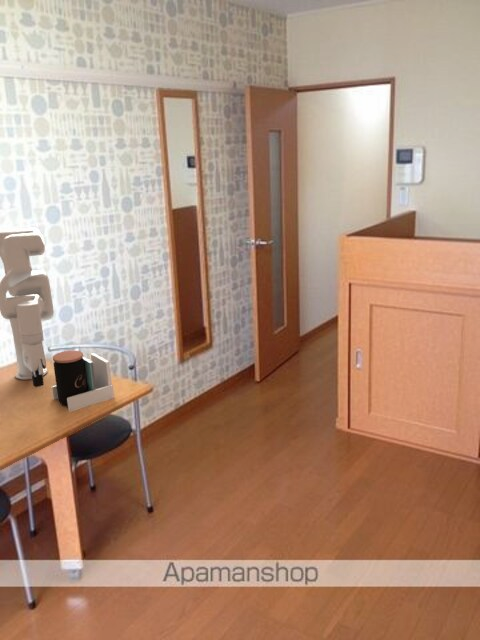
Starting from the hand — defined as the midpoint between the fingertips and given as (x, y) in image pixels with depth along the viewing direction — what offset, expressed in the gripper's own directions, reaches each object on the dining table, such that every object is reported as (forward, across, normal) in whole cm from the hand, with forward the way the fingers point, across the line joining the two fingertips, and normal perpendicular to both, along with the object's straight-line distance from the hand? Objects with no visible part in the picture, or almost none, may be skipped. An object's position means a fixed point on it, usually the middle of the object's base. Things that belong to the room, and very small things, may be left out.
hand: (38, 385), depth 211 cm
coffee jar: (+10, +2, +11) cm, 15 cm away
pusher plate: (+10, +2, +17) cm, 19 cm away
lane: (+10, +2, +15) cm, 18 cm away
